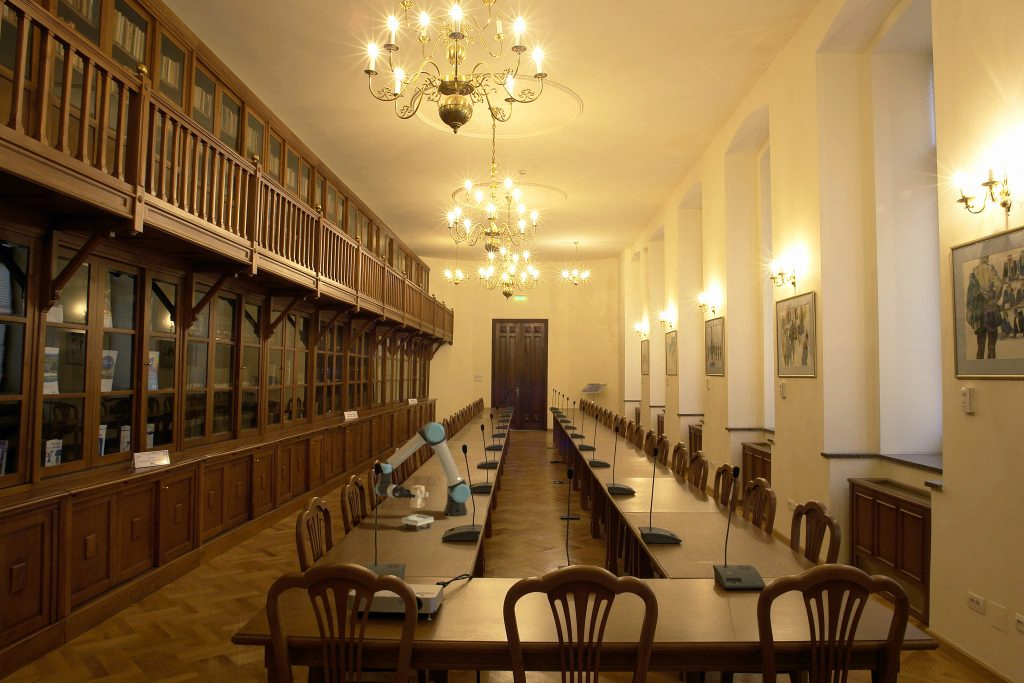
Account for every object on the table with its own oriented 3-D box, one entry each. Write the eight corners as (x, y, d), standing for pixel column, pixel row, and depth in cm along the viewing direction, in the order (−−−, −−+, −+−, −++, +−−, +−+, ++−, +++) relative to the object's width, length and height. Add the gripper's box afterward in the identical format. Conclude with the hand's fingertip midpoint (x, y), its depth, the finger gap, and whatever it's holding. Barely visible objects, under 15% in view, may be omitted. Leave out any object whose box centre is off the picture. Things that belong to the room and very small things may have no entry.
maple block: (417, 505, 399) (417, 485, 400) (424, 506, 396) (424, 486, 396) (410, 506, 394) (410, 486, 395) (417, 508, 391) (417, 487, 391)
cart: (417, 524, 404) (417, 513, 404) (433, 527, 396) (433, 516, 396) (401, 528, 393) (401, 517, 393) (417, 531, 385) (417, 520, 386)
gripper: (407, 495, 413) (434, 499, 400) (384, 500, 398) (412, 504, 385) (407, 483, 414) (434, 487, 400) (384, 487, 398) (412, 491, 385)
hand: (423, 495), depth 392 cm, fingers closed on maple block, 6 cm apart
